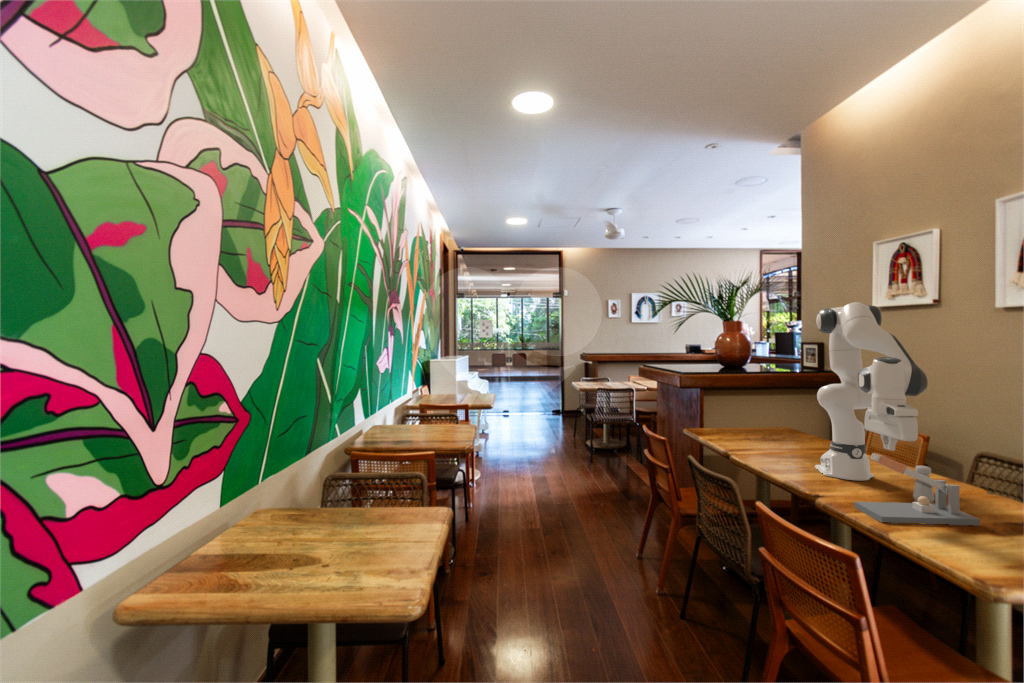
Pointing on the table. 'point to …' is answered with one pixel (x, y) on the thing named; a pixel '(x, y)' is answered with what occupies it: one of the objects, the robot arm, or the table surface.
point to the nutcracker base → (913, 514)
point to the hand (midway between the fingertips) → (889, 449)
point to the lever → (909, 472)
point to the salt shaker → (921, 489)
